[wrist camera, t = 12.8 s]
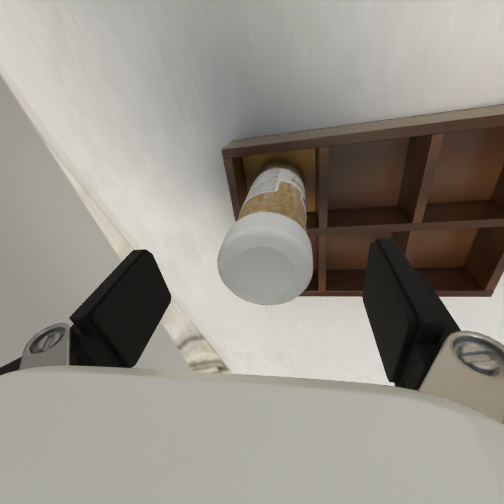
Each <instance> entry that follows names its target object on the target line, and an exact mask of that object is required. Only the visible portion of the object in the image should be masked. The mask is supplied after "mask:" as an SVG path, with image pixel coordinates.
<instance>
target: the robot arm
mask: <svg viewBox="0 0 504 504" xmlns="http://www.w3.org/2000/svg"><path fill="white" fill-rule="evenodd" d="M170 302H171V294H170V292H169V290H168V288H167V285H166V283H165V281H164V279H163V276H162V274H161V272H160V270H159V268H158V265H157V263H156V261H155V259H154V257H153V255H152V253H150V252H149V251H148V250H133V251H132V252H131V253H130V254H129V255H128V256H127V257H126V258H125V259H124V260H123V261H122V262H121V263H120V265H119V266H118V267H117V268H116V269H115V270H114V271H113V272H112V273H111V274H110V275H109V276H108V277H107V278H106V279H105V280H104V281H103V283H102V284H101V285H100V286H99V287H98V288H97V289H96V290H95V291H94V292H93V293H92V294H91V295H90V296H89V297H88V298H87V300H86V301H85V302H84V303H83V304H82V305H81V306H80V307H79V308H78V309H77V310H76V311H75V312H74V313H73V314H72V315H71V316H70V320H71V321H72V322H73V323H74V324H73V325H72V327H70V326H69V325H67V324H65V323H59V324H55V325H52V326H50V327H47V328H46V329H44V330H42V331H40V332H39V333H38V334H36V335H35V336H34V337H33V338H32V339H31V340H30V341H29V342H28V343H27V344H26V346H25V348H24V351H23V355H22V357H21V358H18V359H16V360H15V361H13V362H11V363H9V364H7V365H5V366H3V367H1V368H0V504H504V345H502V344H501V343H500V342H498V341H496V340H494V339H492V338H490V337H488V336H486V335H483V334H480V333H477V332H471V331H461V330H460V328H459V327H458V325H457V324H456V322H455V321H454V319H453V318H452V316H451V315H450V313H449V312H448V310H447V309H446V307H445V306H444V304H443V303H442V301H441V300H440V298H439V297H438V295H437V294H436V292H435V291H434V289H433V288H432V286H431V285H430V283H429V282H428V280H427V279H426V277H425V276H424V275H423V274H422V273H421V272H419V271H414V269H413V267H412V266H411V264H410V263H409V261H408V260H407V258H406V256H405V255H404V253H403V252H402V250H401V249H400V247H399V245H398V244H397V242H396V241H395V239H394V238H378V239H376V240H375V242H372V243H370V247H369V253H368V260H367V267H366V274H365V281H364V288H363V302H364V305H365V309H366V312H367V315H368V318H369V321H370V324H371V328H372V331H373V334H374V337H375V340H376V344H377V347H378V350H379V353H380V356H381V359H382V363H383V366H384V369H385V372H386V375H387V378H388V380H389V382H394V383H395V386H396V387H394V386H386V385H378V384H370V383H358V382H345V381H333V380H320V379H305V378H290V377H274V376H258V375H243V374H226V373H209V372H192V371H175V370H156V369H137V368H132V367H133V366H135V365H136V363H137V361H138V360H139V358H140V356H141V354H142V352H143V351H144V349H145V347H146V345H147V343H148V342H149V340H150V338H151V336H152V334H153V333H154V331H155V329H156V327H157V325H158V324H159V322H160V320H161V318H162V316H163V315H164V313H165V311H166V309H167V307H168V306H169V304H170Z"/></svg>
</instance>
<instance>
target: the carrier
mask: <svg viewBox="0 0 504 504" xmlns="http://www.w3.org/2000/svg"><path fill="white" fill-rule="evenodd" d="M222 155H223V159H224V165H225V170H226V175H227V180H228V185H229V191H230V196H231V201H232V206H233V211H234V216H235V221H237V219H238V217H239V213H240V210H241V208H242V206H243V204H244V202H245V200H246V198H247V195H248V193H249V191H250V189H251V187H252V185H253V183H254V181H255V179H256V176H257V173H258V171H259V169H260V168H261V167H262V165H264V164H265V163H266V162H268V161H270V160H272V159H275V158H285V159H289V160H291V161H293V162H295V163H296V164H297V165H298V166H299V167H300V168H301V169H302V171H303V173H304V176H305V196H306V215H307V221H306V229H307V235H308V237H309V240H310V242H311V247H312V255H313V274H312V278H311V281H310V283H309V285H308V286H307V288H306V289H305V290H304V291H303V292H302V293H301V294H300V295H299V296H363V288H364V281H365V274H366V267H367V260H368V253H369V247H370V243H372V242H375V240H376V239H378V238H394V239H395V241H396V242H397V244H398V245H399V247H400V249H401V250H402V252H403V253H404V255H405V256H406V258H407V260H408V261H409V263H410V264H411V266H412V267H413V269H414V271H419V272H421V273H422V274H423V275H424V276H425V277H426V279H427V280H428V282H429V283H430V285H431V286H432V288H433V289H434V291H435V292H436V294H437V295H438V297H491V296H492V294H493V292H494V290H495V288H496V286H497V284H498V282H499V280H500V278H501V276H502V274H503V272H504V104H502V105H494V106H487V107H479V108H472V109H464V110H456V111H449V112H441V113H434V114H426V115H419V116H411V117H404V118H396V119H389V120H381V121H374V122H366V123H359V124H351V125H343V126H336V127H328V128H321V129H313V130H306V131H298V132H291V133H283V134H276V135H268V136H261V137H253V138H245V139H238V140H233V141H232V142H230V143H229V144H228V145H227V146H225V147H224V148H223V149H222Z"/></svg>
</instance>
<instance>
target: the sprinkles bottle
mask: <svg viewBox="0 0 504 504" xmlns="http://www.w3.org/2000/svg"><path fill="white" fill-rule="evenodd" d="M306 221H307V215H306V196H305V176H304V173H303V171H302V169H301V168H300V167H299V166H298V165H297V164H296V163H295V162H293V161H291V160H289V159H285V158H275V159H272V160H270V161H268V162H266V163H265V164H264V165H262V167H261V168H260V169H259V171H258V173H257V176H256V179H255V181H254V183H253V185H252V187H251V189H250V191H249V193H248V195H247V198H246V200H245V202H244V204H243V206H242V208H241V210H240V213H239V217H238V219H237V221H236V223H235V224H234V225H233V226H232V227H231V228H230V230H229V231H228V233H227V235H226V237H225V239H224V241H223V244H222V246H221V248H220V251H219V255H218V270H219V274H220V276H221V278H222V280H223V282H224V284H225V285H226V286H227V287H228V288H229V289H230V290H231V291H232V292H233V293H234V294H236V295H237V296H239V297H240V298H242V299H244V300H246V301H249V302H252V303H256V304H261V305H277V304H282V303H285V302H288V301H291V300H293V299H294V298H296V297H298V296H299V295H300V294H301V293H302V292H303V291H304V290H305V289H306V288H307V286H308V285H309V283H310V281H311V278H312V274H313V255H312V247H311V242H310V240H309V237H308V235H307V229H306Z"/></svg>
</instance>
